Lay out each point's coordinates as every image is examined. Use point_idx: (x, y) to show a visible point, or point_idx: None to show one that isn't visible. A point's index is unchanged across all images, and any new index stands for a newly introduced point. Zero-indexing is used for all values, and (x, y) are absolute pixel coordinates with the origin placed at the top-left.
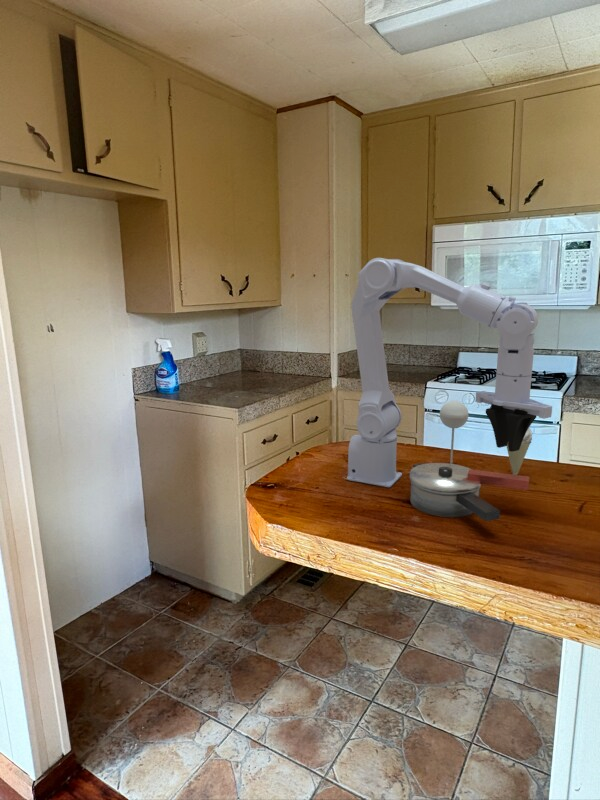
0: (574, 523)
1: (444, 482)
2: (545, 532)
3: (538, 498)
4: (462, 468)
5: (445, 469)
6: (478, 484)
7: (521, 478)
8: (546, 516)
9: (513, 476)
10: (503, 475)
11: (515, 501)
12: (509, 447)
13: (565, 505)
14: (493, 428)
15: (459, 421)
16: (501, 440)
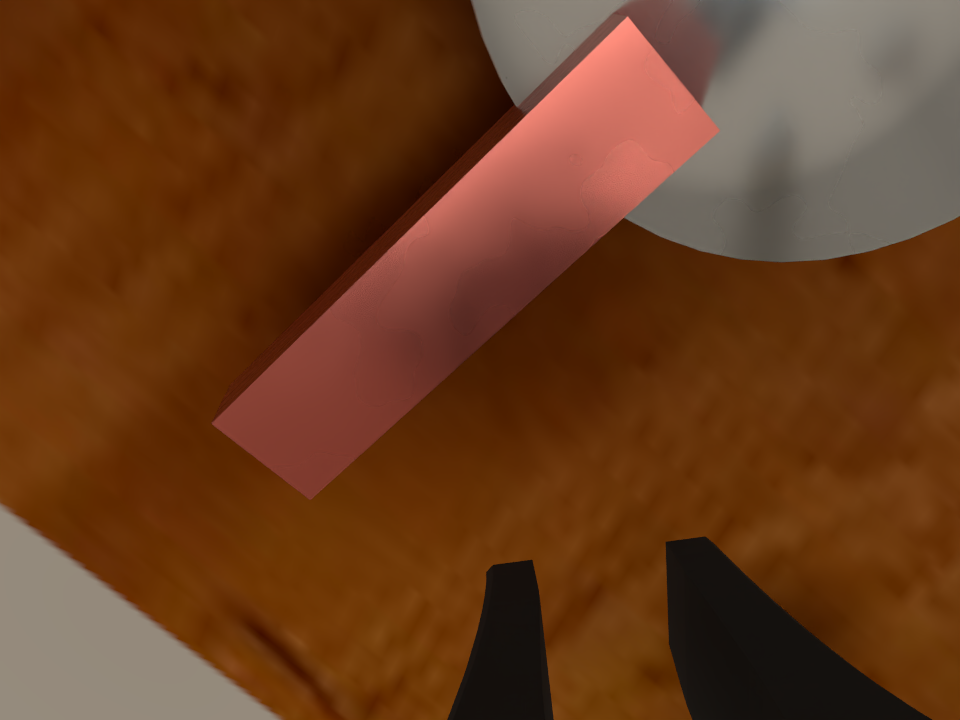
0: (122, 494)
1: None
2: (56, 258)
3: (480, 559)
4: (867, 190)
5: None
6: (494, 64)
7: (298, 414)
8: None
9: (364, 385)
10: (421, 322)
11: (506, 415)
12: (517, 582)
13: (341, 615)
14: (844, 673)
15: None
16: (691, 623)
